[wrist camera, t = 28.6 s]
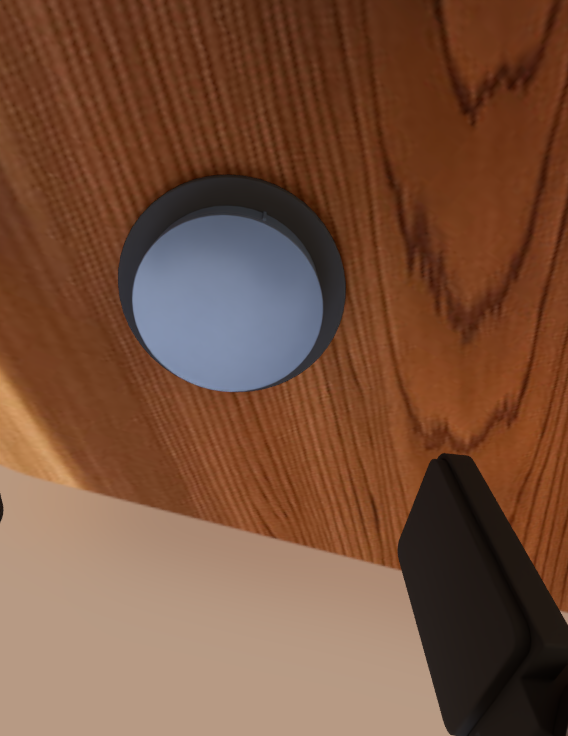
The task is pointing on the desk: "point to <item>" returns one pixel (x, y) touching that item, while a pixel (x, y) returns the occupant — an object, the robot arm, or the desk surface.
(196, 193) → the coaster
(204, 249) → the jar lid
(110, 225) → the desk surface
